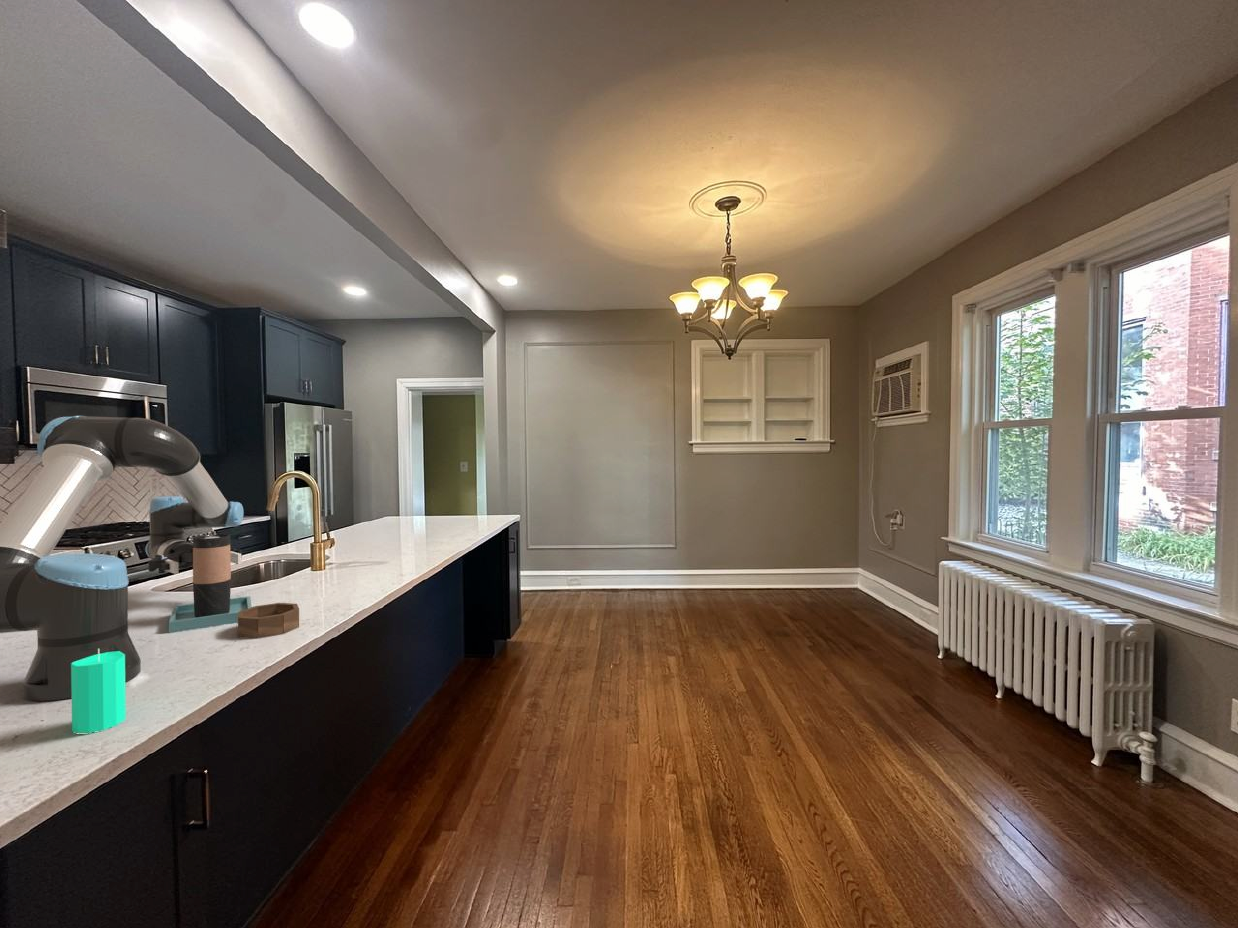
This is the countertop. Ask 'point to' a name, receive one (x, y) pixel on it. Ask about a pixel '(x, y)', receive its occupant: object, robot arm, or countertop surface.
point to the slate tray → (186, 618)
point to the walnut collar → (268, 620)
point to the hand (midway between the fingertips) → (209, 563)
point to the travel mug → (211, 575)
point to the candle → (98, 692)
